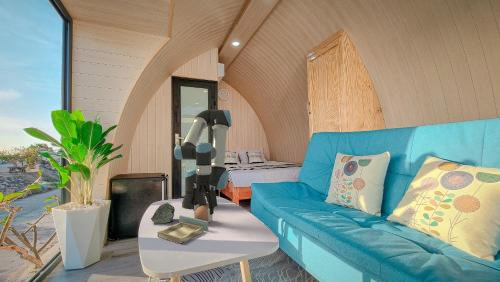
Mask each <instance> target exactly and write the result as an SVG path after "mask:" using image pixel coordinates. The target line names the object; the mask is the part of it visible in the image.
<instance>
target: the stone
mask: <svg viewBox="0 0 500 282" xmlns="http://www.w3.org/2000/svg"><path fill="white" fill-rule="evenodd" d="M175 209H176V208H175V207H174V206H173V205H172V204H171V203H170V202H165V203H162V204H160V205H159V206H158V207H157V208H156V210H155V211H154V213H153V215H152V216H151V218H150V220H151V222H152V223H153V224H167V223H171V222H172V221H173V219H174V216H175V211H176V210H175Z"/></svg>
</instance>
